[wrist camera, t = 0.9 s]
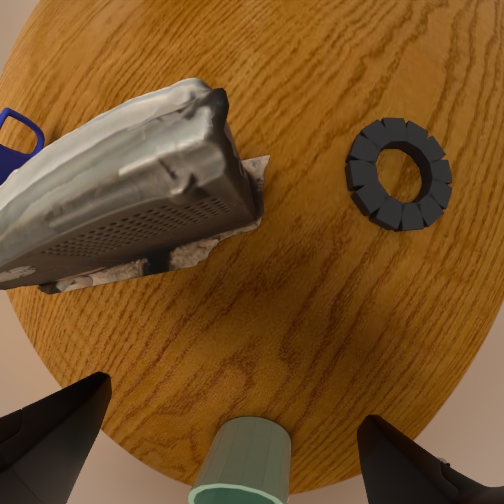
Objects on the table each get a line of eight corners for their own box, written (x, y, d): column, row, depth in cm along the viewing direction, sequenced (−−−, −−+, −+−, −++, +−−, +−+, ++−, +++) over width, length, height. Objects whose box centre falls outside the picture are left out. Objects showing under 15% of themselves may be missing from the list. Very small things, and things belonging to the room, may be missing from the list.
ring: (428, 128, 19) (438, 120, 17) (446, 227, 19) (458, 226, 17) (337, 127, 20) (340, 117, 18) (353, 235, 20) (359, 234, 18)
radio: (270, 154, 21) (231, 23, 6) (287, 264, 21) (277, 314, 7) (55, 211, 25) (-58, 200, 10) (64, 290, 25) (-51, 315, 10)
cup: (290, 415, 22) (285, 486, 13) (292, 466, 22) (287, 531, 13) (210, 414, 23) (177, 477, 14) (222, 465, 23) (199, 524, 14)
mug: (77, 139, 24) (11, 112, 14) (36, 236, 25) (-30, 236, 15) (46, 121, 25) (-9, 98, 15) (11, 206, 26) (-45, 200, 16)
